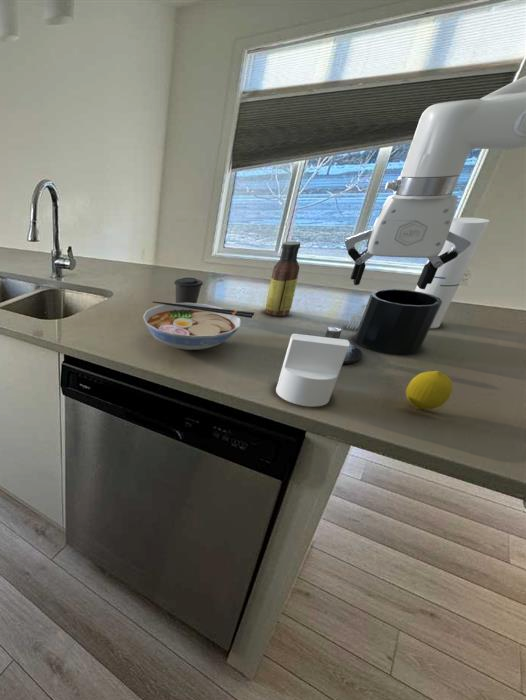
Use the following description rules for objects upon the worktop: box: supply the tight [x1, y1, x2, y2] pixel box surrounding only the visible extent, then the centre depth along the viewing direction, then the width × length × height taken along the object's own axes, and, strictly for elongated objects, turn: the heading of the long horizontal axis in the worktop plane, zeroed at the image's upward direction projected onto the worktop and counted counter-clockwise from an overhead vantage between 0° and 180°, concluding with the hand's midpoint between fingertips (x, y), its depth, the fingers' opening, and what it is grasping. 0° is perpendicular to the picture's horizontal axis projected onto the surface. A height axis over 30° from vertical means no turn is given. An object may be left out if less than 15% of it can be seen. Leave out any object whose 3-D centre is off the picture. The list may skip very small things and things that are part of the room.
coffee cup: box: [173, 277, 204, 303], centre depth 122 cm, size 8×8×10 cm
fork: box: [346, 304, 367, 330], centre depth 110 cm, size 3×21×3 cm, turn 132°
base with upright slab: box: [275, 333, 351, 408], centre depth 78 cm, size 9×9×12 cm
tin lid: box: [324, 326, 364, 364], centre depth 93 cm, size 13×13×6 cm
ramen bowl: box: [142, 300, 255, 351], centre depth 102 cm, size 25×23×8 cm
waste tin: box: [354, 288, 442, 356], centre depth 93 cm, size 12×12×12 cm
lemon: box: [405, 370, 453, 411], centre depth 72 cm, size 6×6×8 cm
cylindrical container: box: [414, 217, 490, 329], centre depth 98 cm, size 7×7×25 cm
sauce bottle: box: [265, 240, 301, 317], centre depth 112 cm, size 7×6×20 cm
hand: (387, 285), depth 78 cm, fingers open, 9 cm apart
